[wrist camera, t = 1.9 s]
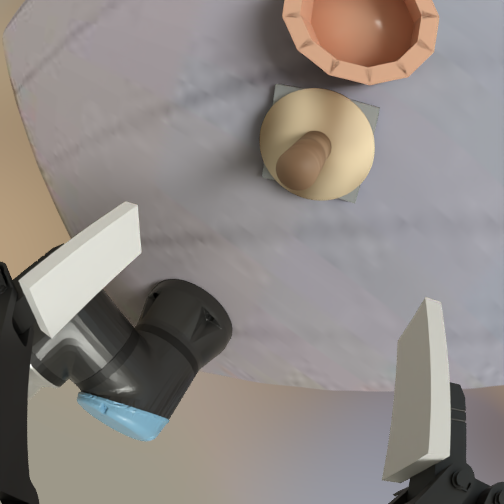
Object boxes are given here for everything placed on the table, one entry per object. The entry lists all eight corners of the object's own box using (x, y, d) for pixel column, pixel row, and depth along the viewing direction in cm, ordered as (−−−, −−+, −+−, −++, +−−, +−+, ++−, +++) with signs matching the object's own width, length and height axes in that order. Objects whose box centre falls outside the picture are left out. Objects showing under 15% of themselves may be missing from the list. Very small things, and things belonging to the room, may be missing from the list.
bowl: (291, 66, 26) (274, 65, 22) (306, -39, 19) (293, -59, 15) (413, 98, 23) (423, 102, 19) (432, -11, 16) (443, -27, 12)
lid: (256, 180, 33) (219, 217, 26) (271, 78, 27) (232, 81, 19) (358, 209, 31) (350, 257, 23) (386, 105, 24) (393, 117, 17)
